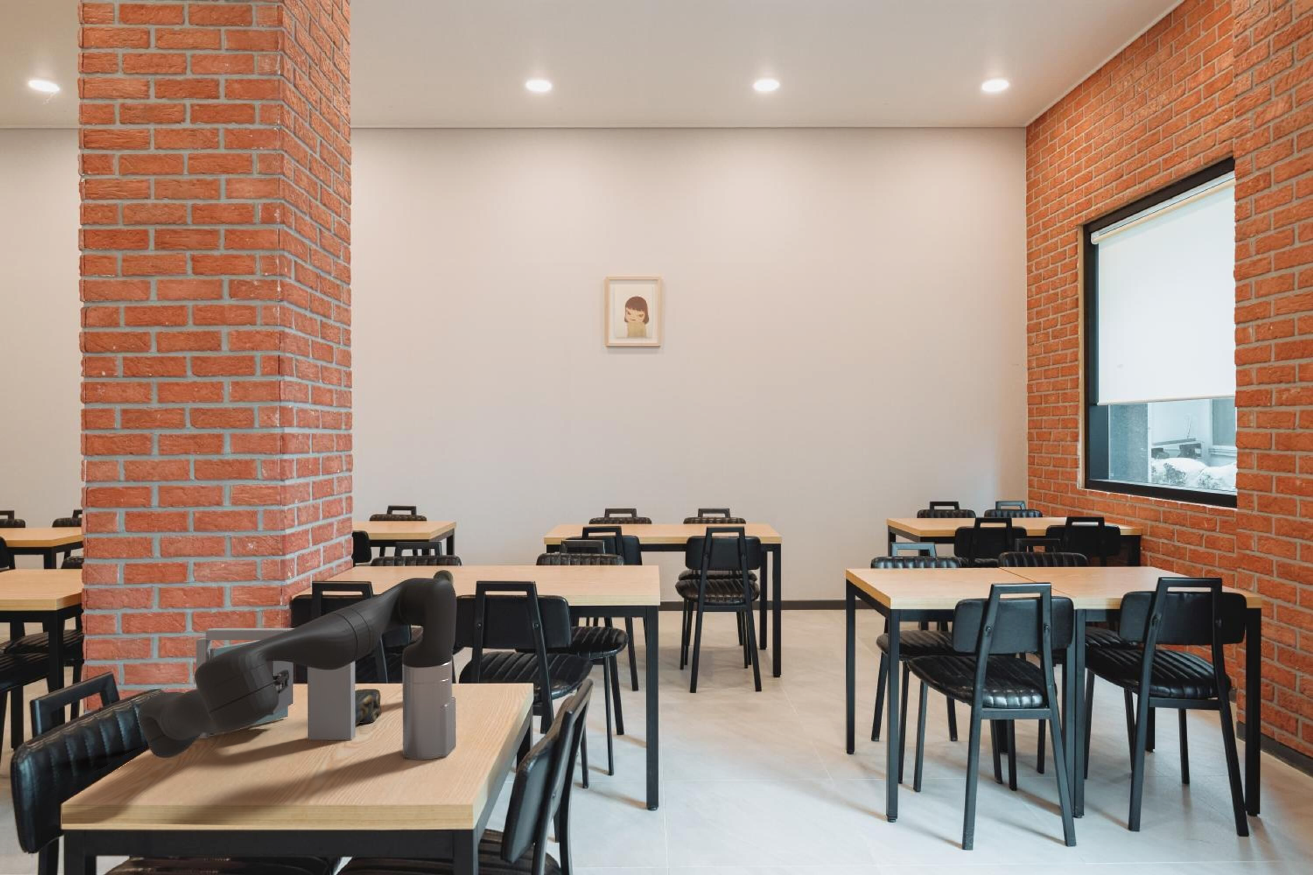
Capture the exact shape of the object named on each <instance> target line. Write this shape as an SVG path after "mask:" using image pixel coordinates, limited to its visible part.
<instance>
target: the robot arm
mask: <svg viewBox="0 0 1313 875" xmlns="http://www.w3.org/2000/svg"><path fill="white" fill-rule="evenodd" d="M457 602H458V601H457V594H456V590H455V587H454V584H453V585H452V584H451V583H450V582H449V581H448V580H444V579H434V578H433V577H432V578H431V577H427V578H426V577H411V578H407V579H405V580H403V581H401V582H399V583H397V584H395V585H393V586H392V587H389V589H386V590H385V591H383V592H381V593H380V594H379V593H378V594H377V595H375V596H373V597H370V598H367V599H364V600H361V601H358V602H356V603H353V604H351V605H348V606H344V607H342V608H339V609H337V610H333V611H332V612H329V613H326V614H324V615H322V616H318V617H317V618H315V619H313V620H310V621H307V622H305V623H304V624H301V625H299V626H296V627H294V629H292V630H289V631H287V632H284V633H281V634H278V635H275V636H272V637H269V638H266V639H263V640H260V641H257V640H256V641H257V642H254V643H251V644H248V645H244V646H241V647H238V648H236V649H233V650H230V651H227V652H224V653H222V654H220V655H217V656H215V657H213V658H211V659H209V660H207V661H206V662H204V663H203V664H202V665H201V666H200V667H198V669H197V670H195V672H194V679H195V684H197V687H198V689H196V688H195V689H191V690H188V691H185V692H181V691H168V692H167V691H166V692H163V693H159V694H156V695H154V696H152V697H150V698H149V699H147V700H145V702H143V703H142V704H141V706H140V707H139V709H138V711H137V712H138V713H137V720H138V723H139V725H140V728H141V730H142V732H143V735H144V737H145V740H146V742H147V744H148V748H149V750H150V752H151V753H152V754H153V755H154V756H156V757H158V758H159V759H160V758H161V759H168V758H174V757H175V756H178V755H180V754H182V753H184V752H185V751H186V750H188V749H189V748H190V747H191V746H192V745H194V743H195V742H196V741H197V740H198V738H199V736H200V735H201V734H202V733H221V734H225V733H231V732H236V731H238V730H241V729H244V727H245V728H247V727H246V726H249V725H251V724H253V723H255V722H257V721H259V720H261V719H262V718H264V717H266V716H267V715H269V714H270V713H271V712H272V711H274V710H275V708H276V707H277V705H278V703H279V695H278V694H280V693H281V692H282V691H284V690H285V689H286V688H287V687H288V680H289V672H288V670H284V671H282V672H280V673H277V674H275V675H271V673H270V671H269V668H268V666H267V664H266V662H269V661H286V662H291V663H293V664H297V665H300V666H303V667H306V668H308V667H311V668H316V669H322V670H335V669H339V668H342V667H344V666H346V665H348V664H350V663H352V662H354V661H355V662H356V661H358V660H360V659H362V658H363V657H365V656H367V655H369V654H370V653H372V651H373V650H374V649H375V648H376V647H377V646H378V644H379V642H380V641H381V638H382V636H383V634H385V633H387V632H390V631H392V630H394V629H398V628H401V627H406V626H410V627H411V626H412V627H423V628H422V635H421V636H422V637H421V640H420V641H417V642H416V643H412V644H409V645H407V646H405V647H404V648H403V650H402V655H401V656H402V665H401V666H402V755H403V756H404V758H407V759H411V760H418V761H419V760H431V759H437V758H445V757H447V756H448V755H450V753H451V752H452V751H453V750H454V748H456V745H457V730H456V729H457V722H456V720H457V717H456V716H457V713H456V712H457V708H456V706H457V705H456V704H457V703H456V697H455V696H453V650H454V646H455V642H456V627H457V625H456V624H457V609H458V608H457V607H458V604H457ZM273 679H275V680H273ZM249 727H250V726H249Z"/></svg>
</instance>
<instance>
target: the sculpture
mask: <svg viewBox="0 0 1313 875" xmlns="http://www.w3.org/2000/svg"><path fill="white" fill-rule="evenodd" d="M381 697H382V696H381V692H380V690H379V689H376V688H363V689H360V688H359V689H355V728H356V727H357V726H358V725H359V724H369V723H373V722H375V721H376V720H377V718H378V717H380V716H381V713H382V707H381Z"/></svg>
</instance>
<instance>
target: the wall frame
mask: <svg viewBox="0 0 1313 875" xmlns="http://www.w3.org/2000/svg"><path fill="white" fill-rule="evenodd" d="M294 628H295V627H294ZM294 628H292V627H290V628H289V627H283V628H282V627H271V628H268V627H266V628H265V627H263V628H262V627H260V628H259V627H252V628H251V627H247V628H246V627H242V628H241V627H237V628H236V627H229V628H228V627H227V628H226V627H223V628H222V627H213V628H209V629H205V637H201V638H198V639H196V641H195V642H196V643H195V644H196V646H195V648H196V649H195V650H196V652H195V653H196V654H195V655H196V656H195V666H196V670H197V669H198V667H200V666H201V665H202V664H203V663H204V662H206V661H207V660H209V659H210V649H211V648H212V647H213V646H212V645H213V642H212V641H257V640H263V639H266V638H269V637H272V636H275V635H278V634H281V633H284V632H287V631H289V630H292V629H294ZM196 670H195V671H196ZM195 684H196V683H195ZM195 689H198V687H197V684H196V685H195ZM355 691H356V661H354V662H352V663H350V664H348V665H346V666H344V667H342V668H339V669H335V670H322V669H316V668H311V667H307V740H308V741H309V740H311V741H315V740H316V741H317V740H320V741H321V740H324V741H325V740H326V741H335V740H337V741H352V740H353V739H354V738H356V727H355ZM211 736H212V735H210V733H202V734H201V735H200V736H199V738H198V739H203V738H206V739H208V738H210V737H211ZM207 737H208V738H207ZM198 739H197V740H198Z"/></svg>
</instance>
